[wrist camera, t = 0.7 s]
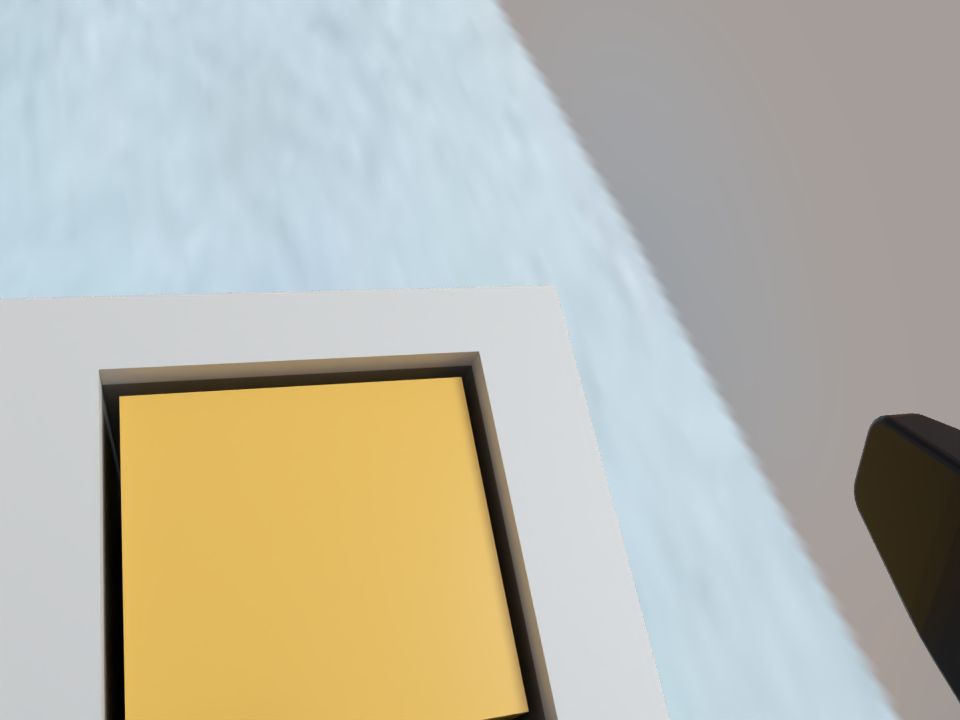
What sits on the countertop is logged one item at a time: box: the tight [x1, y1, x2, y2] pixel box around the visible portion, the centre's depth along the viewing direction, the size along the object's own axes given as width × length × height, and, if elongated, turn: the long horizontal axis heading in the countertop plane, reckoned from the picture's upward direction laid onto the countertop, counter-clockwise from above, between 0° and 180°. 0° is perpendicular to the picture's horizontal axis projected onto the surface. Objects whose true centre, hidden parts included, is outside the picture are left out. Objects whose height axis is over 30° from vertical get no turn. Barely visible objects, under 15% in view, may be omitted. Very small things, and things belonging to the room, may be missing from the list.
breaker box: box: [0, 285, 670, 720], centre depth 18 cm, size 10×11×6 cm
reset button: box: [119, 377, 529, 720], centre depth 18 cm, size 6×6×4 cm
